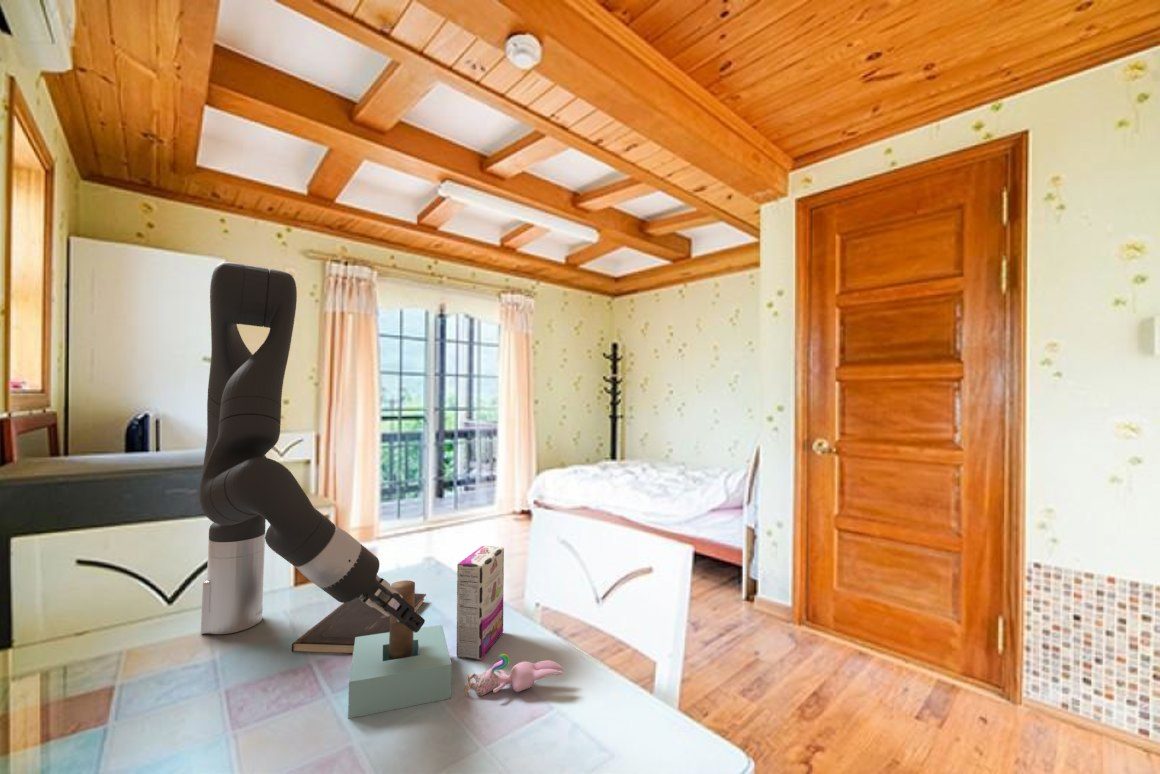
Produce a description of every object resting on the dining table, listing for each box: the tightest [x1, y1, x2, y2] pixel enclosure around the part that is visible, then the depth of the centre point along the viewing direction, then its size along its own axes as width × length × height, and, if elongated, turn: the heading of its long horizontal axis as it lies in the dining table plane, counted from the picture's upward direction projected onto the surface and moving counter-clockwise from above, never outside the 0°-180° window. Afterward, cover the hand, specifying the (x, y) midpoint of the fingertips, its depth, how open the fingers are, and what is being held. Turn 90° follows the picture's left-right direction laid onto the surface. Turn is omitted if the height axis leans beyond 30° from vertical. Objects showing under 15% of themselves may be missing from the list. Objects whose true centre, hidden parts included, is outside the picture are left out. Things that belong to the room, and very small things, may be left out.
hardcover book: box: [291, 593, 427, 654], centre depth 98 cm, size 16×23×2 cm
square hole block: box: [347, 624, 453, 719], centre depth 78 cm, size 14×14×5 cm
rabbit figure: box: [464, 653, 564, 697], centre depth 76 cm, size 6×6×15 cm
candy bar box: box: [456, 545, 505, 661], centre depth 90 cm, size 11×5×16 cm, turn 168°
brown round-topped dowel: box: [389, 580, 416, 660], centre depth 78 cm, size 4×4×11 cm
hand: (413, 621), depth 79 cm, fingers closed on brown round-topped dowel, 3 cm apart
